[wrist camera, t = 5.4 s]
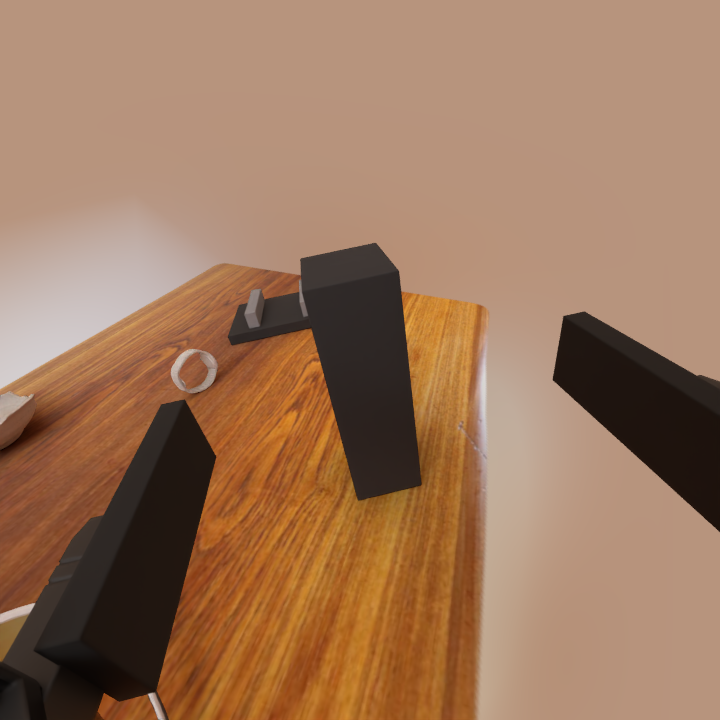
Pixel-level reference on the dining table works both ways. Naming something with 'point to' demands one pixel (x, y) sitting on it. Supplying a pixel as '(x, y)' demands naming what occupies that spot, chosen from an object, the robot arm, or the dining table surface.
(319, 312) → the standing block
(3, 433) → the pottery shard
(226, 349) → the dining table surface
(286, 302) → the base pad
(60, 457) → the dining table surface
